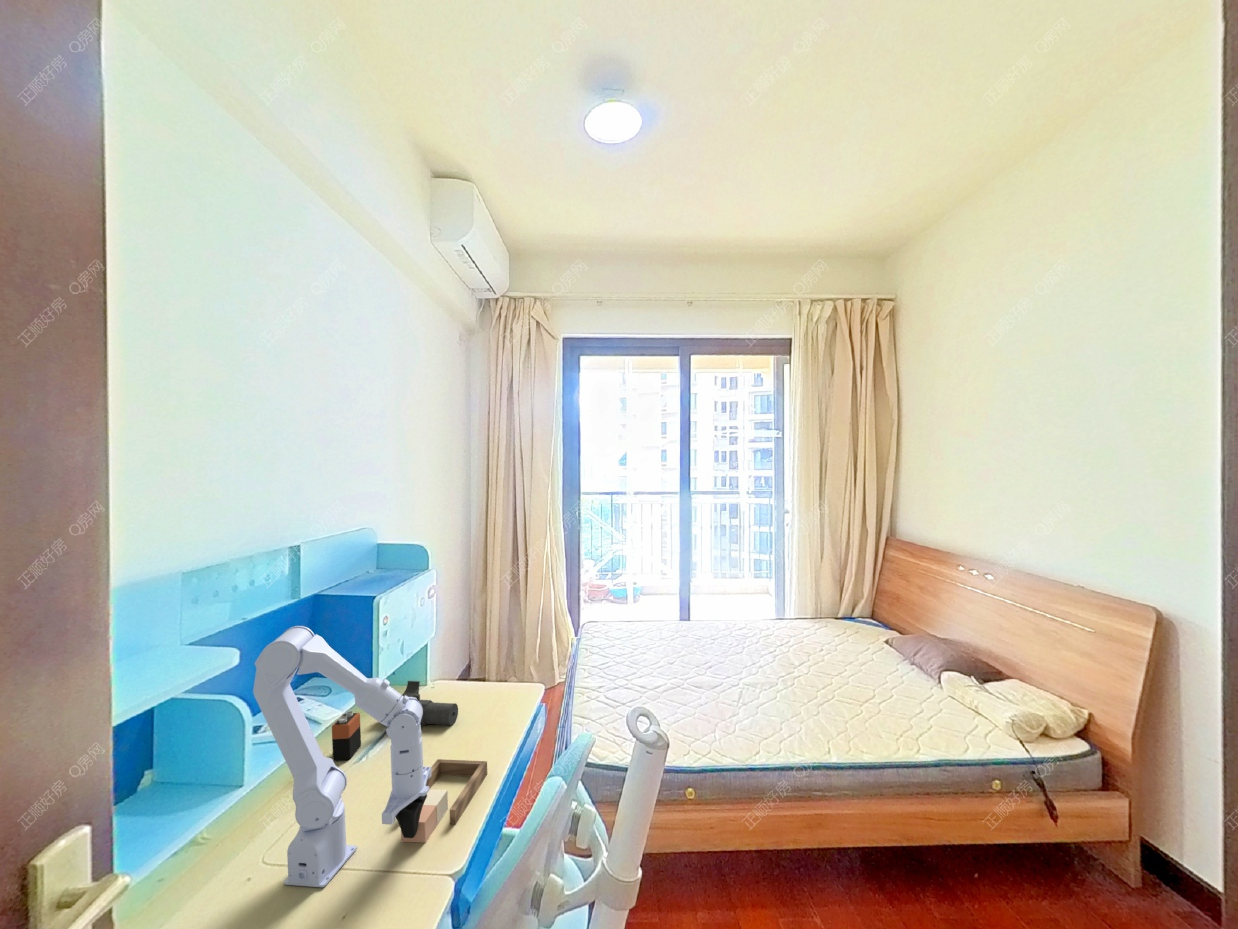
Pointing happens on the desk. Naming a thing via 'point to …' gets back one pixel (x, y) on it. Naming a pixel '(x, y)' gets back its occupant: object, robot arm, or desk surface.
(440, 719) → the laser sight
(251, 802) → the desk surface
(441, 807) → the tile far
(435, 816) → the pink cube-like block
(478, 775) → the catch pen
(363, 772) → the desk surface
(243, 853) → the desk surface
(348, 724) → the battery
